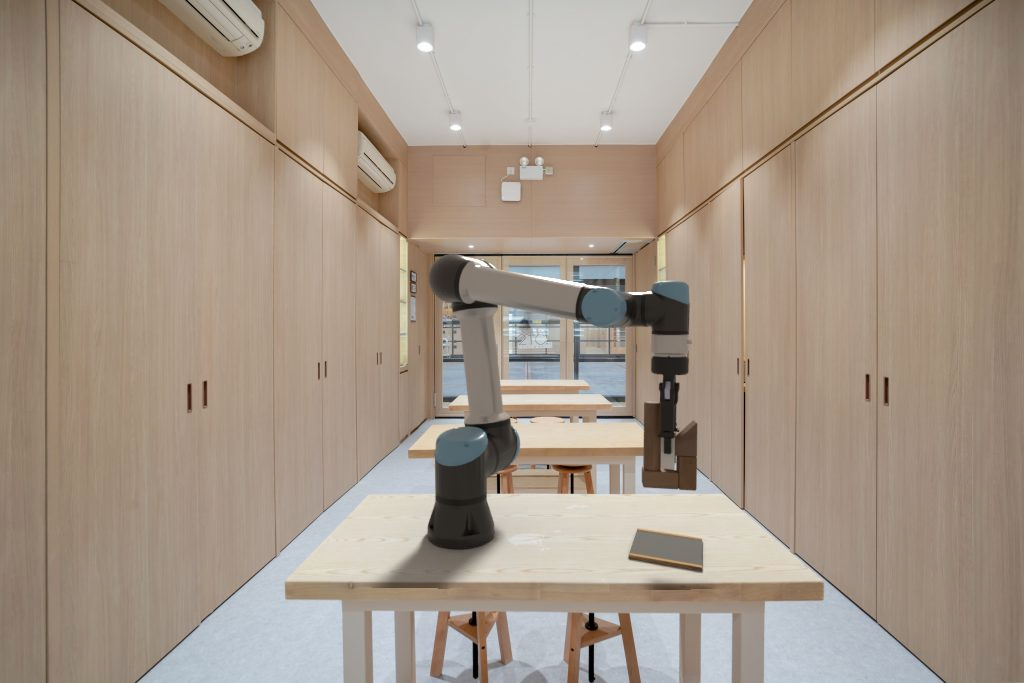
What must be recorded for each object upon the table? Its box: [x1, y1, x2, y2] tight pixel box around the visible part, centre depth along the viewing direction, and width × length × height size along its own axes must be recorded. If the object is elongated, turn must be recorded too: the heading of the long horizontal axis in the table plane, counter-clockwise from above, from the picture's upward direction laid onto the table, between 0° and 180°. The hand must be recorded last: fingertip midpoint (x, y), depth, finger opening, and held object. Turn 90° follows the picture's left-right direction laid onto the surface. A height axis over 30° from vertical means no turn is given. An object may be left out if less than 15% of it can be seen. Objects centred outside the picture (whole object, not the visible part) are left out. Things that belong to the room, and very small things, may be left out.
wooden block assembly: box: [641, 400, 698, 491], centre depth 103 cm, size 4×11×18 cm, turn 80°
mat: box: [628, 528, 703, 572], centre depth 104 cm, size 14×14×1 cm
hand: (668, 465), depth 103 cm, fingers closed on wooden block assembly, 4 cm apart
